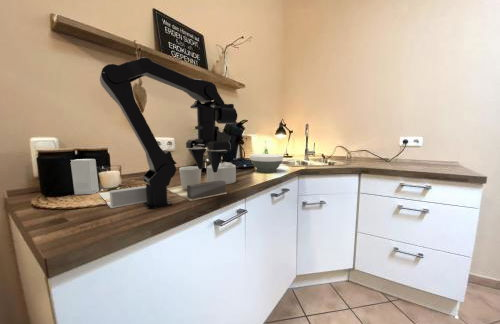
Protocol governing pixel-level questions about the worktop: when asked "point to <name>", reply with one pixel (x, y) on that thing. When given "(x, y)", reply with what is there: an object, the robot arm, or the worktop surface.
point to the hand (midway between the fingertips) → (207, 170)
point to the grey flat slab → (125, 196)
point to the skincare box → (84, 176)
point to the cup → (189, 176)
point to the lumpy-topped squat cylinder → (222, 173)
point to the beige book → (200, 190)
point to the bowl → (266, 162)
